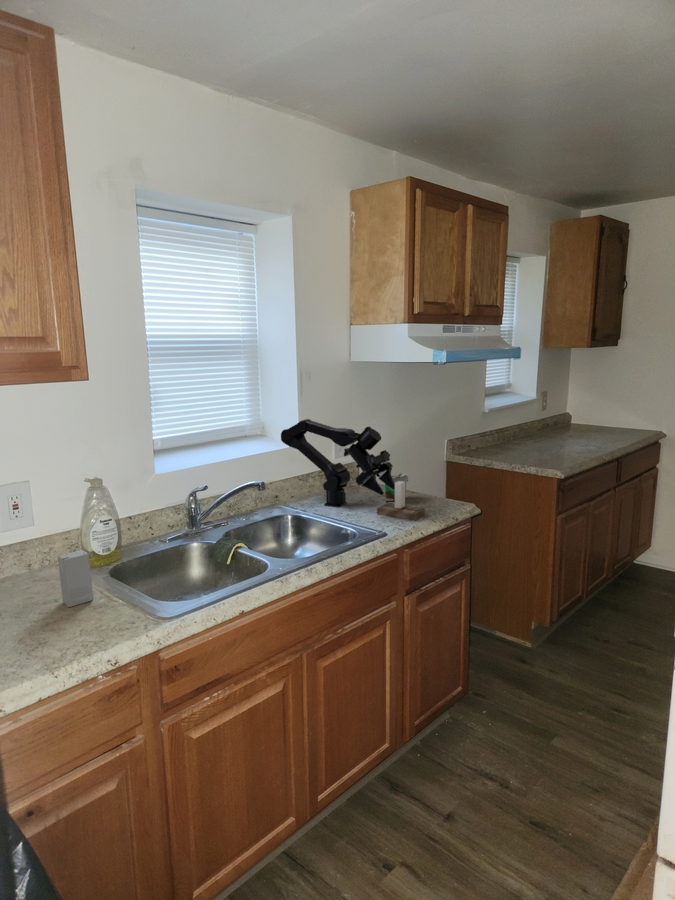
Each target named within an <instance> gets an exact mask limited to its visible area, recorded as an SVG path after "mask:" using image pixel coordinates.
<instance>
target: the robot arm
mask: <svg viewBox="0 0 675 900" xmlns="http://www.w3.org/2000/svg"><path fill="white" fill-rule="evenodd" d="M307 433H311V434H314V435H318V436H321V437H324V438H327V439H329V440H331V441H332V442H333V443H334V444H336V445H338V446H340V447H347V446H349V447H348V448H344V452H343V457H348V456H350V457H351V458H352V459H353V461H354V462H355V464H357V465H355V466H356V469H359V468H360V470H361V472H360V473H359V474H358V475H357V476H356V477H355V483H356V484H357V485H358V486H361V487H364V488H367V489H369V490H371V491H373V492H374V493H377V494H378V495H380V496H383V495H384V494H385V492H384V491H383V489H382V488H381V486H380V484H379V483H378V482H377V477H378V479H379V480H380V481H381V482H382V483H383V484H384V485H385V484H386V485H388V486H389V487H390V488H392V489H395V484H394V482H393V479H392V476H393V475H392V470H393V465H394V464H392V463H391V462H390V461H391V458H390V456H391V453H389V451H387V450H386V449H385V450H382V451H379V454H378V455H374V454H372V453H369V452H368V451H371V450H372V449H373V448H374V447H375V446H376V445H377V444H378V443H379V442H380V441H381V440H382V436H381V434H380V433H379V432H378V431H377V430H376V429H374V428H371V426H370V425H369V426H366V427H365V428H364V430H363V431H362V432H361V433H358V432H356V431H355V430H354V429H351V428H341V427H340V428H339V427H338V428H337V427H333V426H330V425H326V424H323V423H320V422H317V421H313V420H311V419H310V418H305V419H302V420H299V422H297V423H296V424H293V425H292V426H291V427H289V428H286V429H283V430H282V431H281V433H280V441H281V442H282V443H283V444H285V445H286V446H287V447H289V448H292V449H295V450H298V451H299V452H300V453H301V454H302V455H303V456H305V457H306V458H307V459H308V460H309V462H311V463H313V464H314V466H316V467H317V468H318V469H319V470H320V471H321V472H322V473H324V474H323V475H324V477H325V480H326V481H325V482H323V484H322V487H323V489H324V491H325V492H326V493H325V494H326V496H325V499H326V501H325V503H324V506H328V507H329V506H330V507H336V508H339V507H342V506H344V505H345V504H347V501H346V500H347V499H346V498H347V497H346V496H347V495H346V492H345V488H346V487H347V485H348V483H349V482H350V481H351V472H350V471H349V470H348V469H349V468H347V467H345V466H344V465H343V463H342V462H337V463H333V462H332V461H331V460H329V458H327V457H326V456H325V455H323V454H322V453H321V452H320V451H319V450H317V449H316V447H315V446H313V445H312V444H311V443H310V442H308V441H307V439H306V436H305V434H307Z"/></svg>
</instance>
